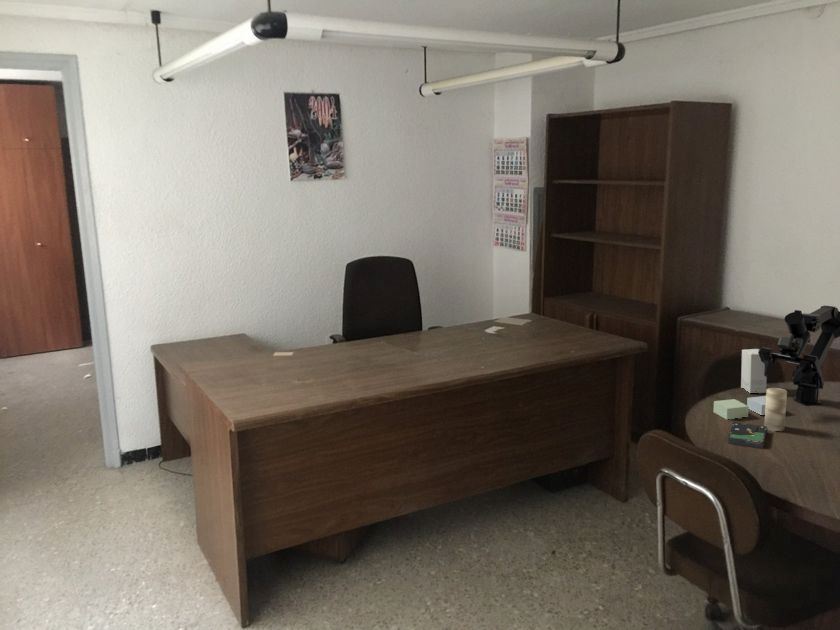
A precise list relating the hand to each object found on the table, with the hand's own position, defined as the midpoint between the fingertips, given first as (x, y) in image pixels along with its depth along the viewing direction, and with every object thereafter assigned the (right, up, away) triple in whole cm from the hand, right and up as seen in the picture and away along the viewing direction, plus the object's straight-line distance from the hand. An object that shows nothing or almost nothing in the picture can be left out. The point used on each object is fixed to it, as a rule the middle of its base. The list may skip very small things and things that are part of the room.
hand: (778, 378), depth 237 cm
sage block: (-12, -14, +10) cm, 20 cm away
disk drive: (-15, -19, -11) cm, 27 cm away
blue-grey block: (+1, -13, +12) cm, 17 cm away
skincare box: (+7, -8, +34) cm, 35 cm away
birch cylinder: (-4, -16, -4) cm, 17 cm away
